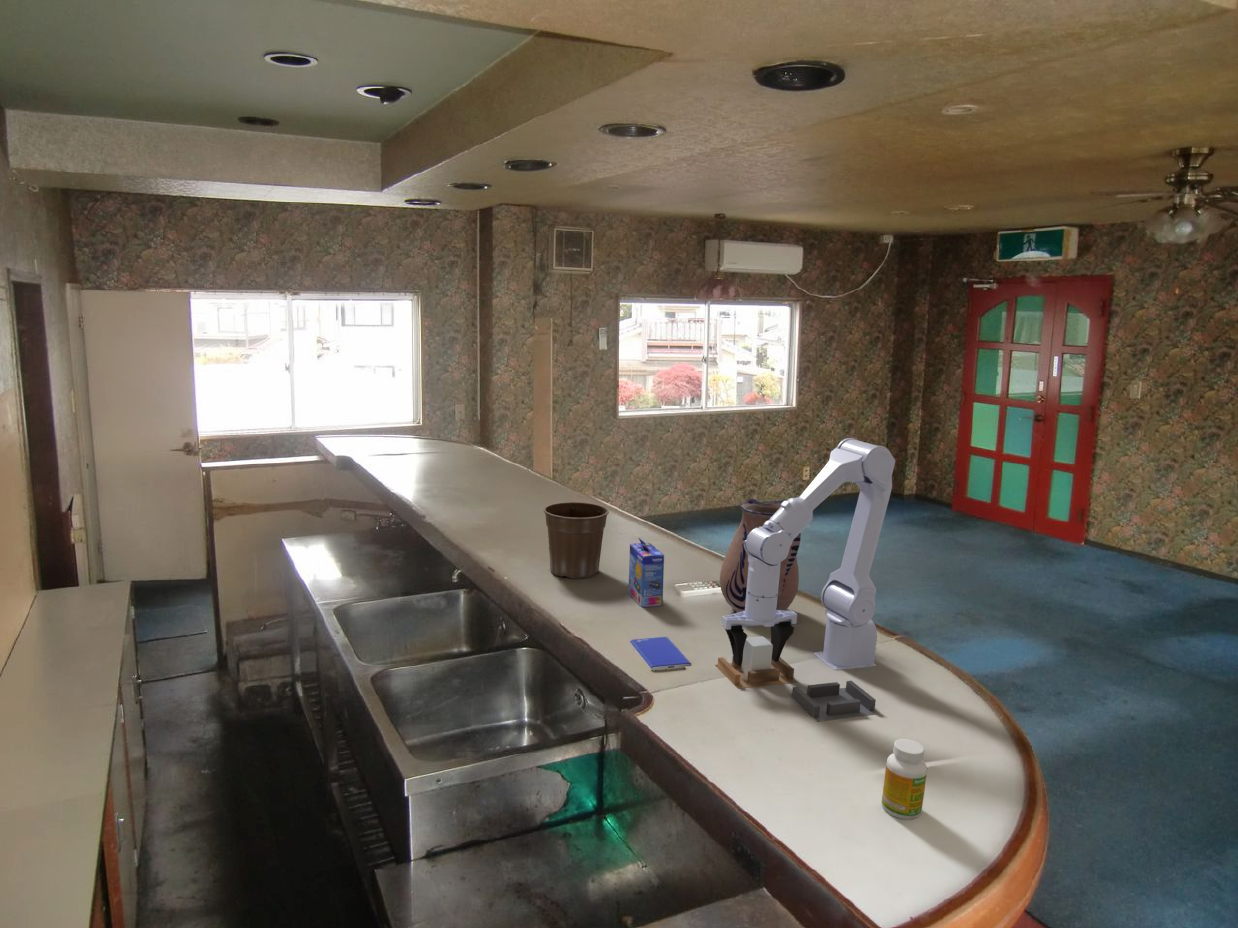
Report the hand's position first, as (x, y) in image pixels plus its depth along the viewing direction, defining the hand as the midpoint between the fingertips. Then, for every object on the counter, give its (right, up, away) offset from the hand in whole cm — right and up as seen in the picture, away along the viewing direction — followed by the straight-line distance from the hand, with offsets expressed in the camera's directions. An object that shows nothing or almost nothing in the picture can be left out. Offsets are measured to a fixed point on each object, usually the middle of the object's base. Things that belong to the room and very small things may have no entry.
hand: (756, 661), depth 158 cm
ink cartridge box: (-20, +5, +37) cm, 43 cm away
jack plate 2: (+12, -6, -10) cm, 16 cm away
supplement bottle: (+14, -12, -39) cm, 43 cm away
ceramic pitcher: (+6, +3, +32) cm, 32 cm away
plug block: (0, -2, 0) cm, 2 cm away
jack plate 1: (0, -3, +1) cm, 3 cm away
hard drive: (-18, -1, +8) cm, 19 cm away
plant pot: (-37, +10, +54) cm, 67 cm away
